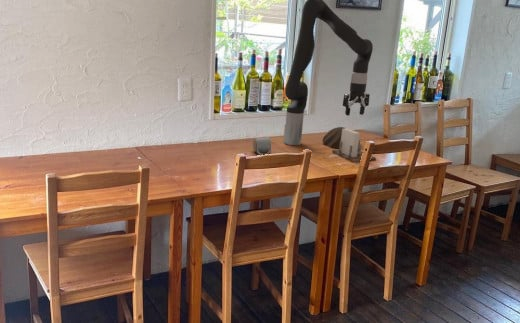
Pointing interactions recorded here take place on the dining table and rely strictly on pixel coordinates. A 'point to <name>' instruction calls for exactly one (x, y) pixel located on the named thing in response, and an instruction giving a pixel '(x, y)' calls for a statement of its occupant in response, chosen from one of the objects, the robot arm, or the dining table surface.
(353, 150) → the cream tile
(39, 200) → the dining table surface
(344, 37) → the robot arm
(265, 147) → the ceramic mug
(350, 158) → the dish rack
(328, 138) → the decorative dome
